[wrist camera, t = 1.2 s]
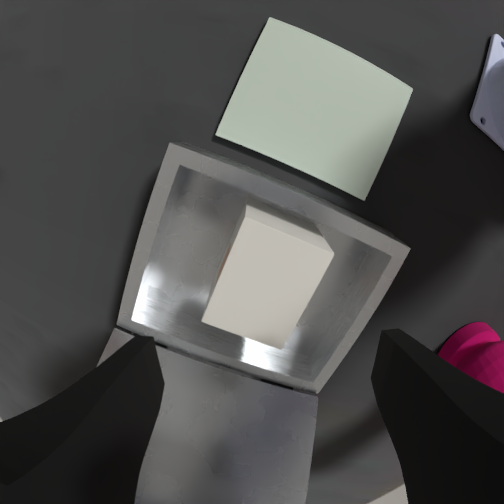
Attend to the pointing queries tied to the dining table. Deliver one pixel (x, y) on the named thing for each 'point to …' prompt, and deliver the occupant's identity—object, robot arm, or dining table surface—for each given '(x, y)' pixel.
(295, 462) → the lid
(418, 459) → the robot arm
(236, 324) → the block
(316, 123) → the pad
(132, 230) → the dining table surface
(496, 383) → the pepper mill
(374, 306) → the case
